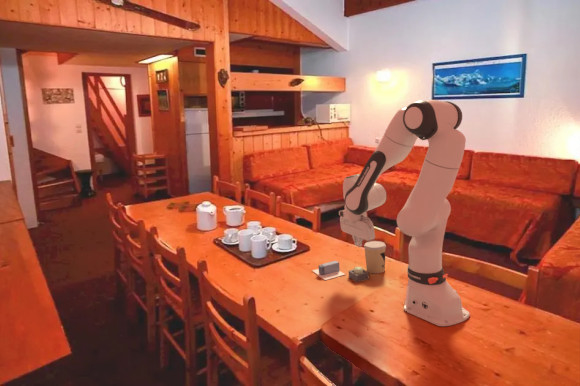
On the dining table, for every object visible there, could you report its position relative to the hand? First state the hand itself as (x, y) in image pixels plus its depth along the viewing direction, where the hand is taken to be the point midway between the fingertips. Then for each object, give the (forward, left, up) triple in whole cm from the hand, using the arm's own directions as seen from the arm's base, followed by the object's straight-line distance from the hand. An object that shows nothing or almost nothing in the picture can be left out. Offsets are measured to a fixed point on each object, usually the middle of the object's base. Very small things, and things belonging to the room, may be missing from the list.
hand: (358, 245), depth 167 cm
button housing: (+1, 0, -15) cm, 15 cm away
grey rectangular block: (+13, +8, -14) cm, 21 cm away
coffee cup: (+4, -11, -15) cm, 19 cm away
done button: (+1, 0, -14) cm, 14 cm away
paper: (+13, +8, -15) cm, 21 cm away
